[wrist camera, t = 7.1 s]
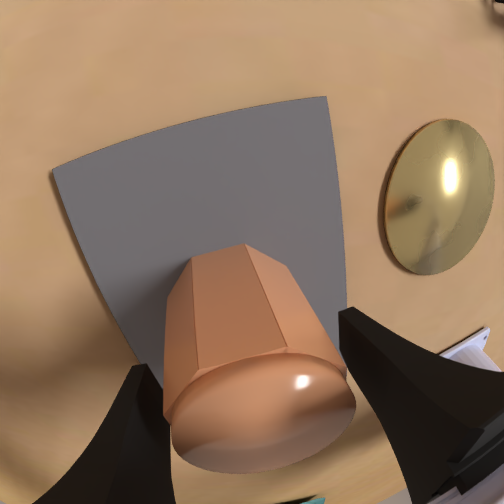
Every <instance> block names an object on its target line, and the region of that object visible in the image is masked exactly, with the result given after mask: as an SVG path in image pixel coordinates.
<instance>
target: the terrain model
mask: <svg viewBox="0 0 504 504" xmlns="http://www.w3.org/2000/svg"><path fill="white" fill-rule="evenodd" d="M324 501H325V498H319V499H315V500H312V501H309V502H304V503H301V504H324Z"/></svg>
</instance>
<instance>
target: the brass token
mask: <svg viewBox="0 0 504 504" xmlns="http://www.w3.org/2000/svg"><path fill="white" fill-rule="evenodd" d="M494 182H495V180H494V169H493V163H492V159H491V155H490V152H489V150H488V147H487V145H486V143H485V142H484V140H483V139H482V137H481V136H480V134H479V133H478V132H477V131H476V130H475V129H474V128H472V127H471V126H470V125H468V124H466V123H464V122H461V121H458V120H453V119H442V120H437V121H434V122H431V123H429V124H427V125H426V126H424V127H422V128H421V129H420V130H419V131H417V132H416V133H415V134H414V135H413V136H412V137H411V138H410V140H409V141H408V142H407V143H406V145H405V146H404V148H403V149H402V151H401V152H400V154H399V156H398V158H397V160H396V162H395V164H394V166H393V169H392V171H391V174H390V177H389V180H388V184H387V189H386V193H385V201H384V229H385V234H386V239H387V242H388V245H389V247H390V249H391V251H392V253H393V255H394V256H395V258H396V259H397V260H398V261H399V262H400V263H401V264H402V265H403V266H404V267H405V268H407V269H408V270H410V271H411V272H414V273H416V274H420V275H433V274H438V273H441V272H444V271H446V270H448V269H450V268H451V267H453V266H454V265H456V264H457V263H458V262H460V261H461V260H462V259H463V258H464V257H465V256H466V255H467V254H468V253H469V252H470V250H471V249H472V248H473V247H474V245H475V244H476V242H477V241H478V239H479V237H480V236H481V234H482V232H483V230H484V228H485V226H486V223H487V220H488V218H489V215H490V211H491V208H492V203H493V197H494Z"/></svg>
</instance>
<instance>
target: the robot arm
mask: <svg viewBox="0 0 504 504" xmlns="http://www.w3.org/2000/svg"><path fill="white" fill-rule="evenodd" d="M338 323H339V350H340V353H341V355H342V357H343V359H344V361H345V364H346V366H347V368H348V370H349V372H350V373H351V375H352V377H353V378H354V380H355V381H356V383H357V385H358V386H359V388H360V389H361V391H362V393H363V394H364V396H365V397H366V399H367V400H368V402H369V404H370V405H371V407H372V408H373V410H374V412H375V413H376V415H377V417H378V418H379V420H380V422H381V424H382V426H383V428H384V431H385V433H386V435H387V437H388V439H389V442H390V444H391V446H392V449H393V451H394V453H395V456H396V458H397V461H398V463H399V466H400V468H401V471H402V474H403V476H404V479H405V482H406V485H407V488H408V491H409V494H410V497H411V501H412V504H504V372H502V371H501V370H500V369H499V368H498V367H497V365H496V364H495V363H494V362H493V361H492V360H491V359H490V358H489V357H488V356H487V355H486V354H485V353H484V352H483V348H484V346H485V343H486V340H487V338H488V335H489V332H490V328H488V327H485V328H484V329H482V330H480V331H479V332H477V333H476V334H474V335H472V336H471V337H469V338H468V339H466V340H464V341H462V342H461V343H459V344H457V345H456V346H454V347H452V348H450V349H449V350H447V351H445V352H443V353H441V354H440V355H437V354H435V353H433V352H430V351H428V350H426V349H424V348H421V347H419V346H417V345H415V344H414V343H412V342H410V341H408V340H406V339H404V338H402V337H401V336H399V335H397V334H396V333H394V332H392V331H391V330H389V329H387V328H386V327H384V326H382V325H381V324H379V323H378V322H376V321H375V320H373V319H371V318H370V317H368V316H367V315H365V314H364V313H362V312H361V311H359V310H358V309H356V308H354V307H350V308H347V309H344V310H341V311H338ZM32 504H176V502H175V497H174V491H173V484H172V478H171V453H170V424H169V423H168V421H167V420H166V419H165V417H164V416H163V389H162V387H161V386H160V384H159V382H158V381H157V379H156V378H155V376H154V374H153V373H152V371H151V369H150V368H149V366H148V364H147V363H145V364H140V365H135V366H132V367H131V369H130V371H129V373H128V375H127V377H126V379H125V380H124V382H123V384H122V386H121V388H120V390H119V392H118V394H117V396H116V398H115V400H114V402H113V404H112V406H111V408H110V410H109V412H108V413H107V415H106V417H105V419H104V421H103V422H102V424H101V426H100V427H99V429H98V431H97V433H96V434H95V436H94V437H93V439H92V440H91V442H90V443H89V445H88V446H87V448H86V449H85V450H84V452H83V453H82V454H81V456H80V457H79V458H78V459H77V461H76V462H75V463H74V464H73V465H72V467H71V468H70V469H69V470H68V471H67V473H66V474H65V475H64V476H63V477H62V478H61V479H60V480H59V481H58V482H57V483H56V484H55V485H54V486H53V487H52V488H51V489H50V490H48V491H47V492H46V493H45V494H44V495H42V496H41V497H40V498H39V499H38V500H36V501H35V502H34V503H32Z"/></svg>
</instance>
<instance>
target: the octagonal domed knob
mask: <svg viewBox="0 0 504 504" xmlns="http://www.w3.org/2000/svg"><path fill="white" fill-rule="evenodd" d="M346 372H347V367H346V365H345V363H344V362H343V360H342V358H341V356H340V355H339V353H338V351H337V350H336V348H335V346H334V344H333V343H332V341H331V339H330V338H329V336H328V334H327V333H326V331H325V329H324V328H323V326H322V324H321V323H320V321H319V319H318V317H317V316H316V314H315V312H314V311H313V309H312V307H311V306H310V304H309V302H308V301H307V299H306V297H305V296H304V294H303V292H302V291H301V289H300V288H299V286H298V284H297V283H296V281H295V279H294V278H293V276H292V274H291V273H290V271H289V269H288V268H287V266H286V265H284V264H282V263H280V262H278V261H276V260H274V259H272V258H271V257H269V256H267V255H265V254H263V253H261V252H259V251H258V250H256V249H254V248H252V247H250V246H248V245H246V244H244V243H243V244H240V245H236V246H232V247H228V248H224V249H221V250H217V251H213V252H209V253H206V254H202V255H198V256H194V257H192V258H191V259H190V260H189V262H188V263H187V265H186V267H185V268H184V270H183V272H182V274H181V275H180V277H179V279H178V280H177V282H176V284H175V285H174V287H173V289H172V290H171V292H170V294H169V296H168V297H167V309H166V326H165V347H164V382H163V416H164V417H165V419H166V420H167V421H168V423H169V424H170V425H171V438H172V445H173V447H174V449H175V451H176V452H177V454H178V455H179V456H180V457H181V458H183V459H184V460H185V461H187V462H188V463H190V464H192V465H194V466H196V467H199V468H202V469H205V470H209V471H213V472H219V473H229V474H246V473H257V472H264V471H269V470H274V469H278V468H281V467H285V466H288V465H291V464H294V463H296V462H299V461H301V460H304V459H306V458H308V457H310V456H312V455H314V454H316V453H317V452H319V451H321V450H322V449H324V448H325V447H327V446H328V445H329V444H331V443H332V442H333V441H334V440H336V439H337V438H338V437H339V436H340V435H341V434H342V433H343V432H344V431H345V429H346V428H347V427H348V425H349V424H350V422H351V421H352V419H353V416H354V414H355V410H356V400H355V397H354V394H353V393H352V391H351V389H350V387H349V385H348V384H347V382H346Z"/></svg>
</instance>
